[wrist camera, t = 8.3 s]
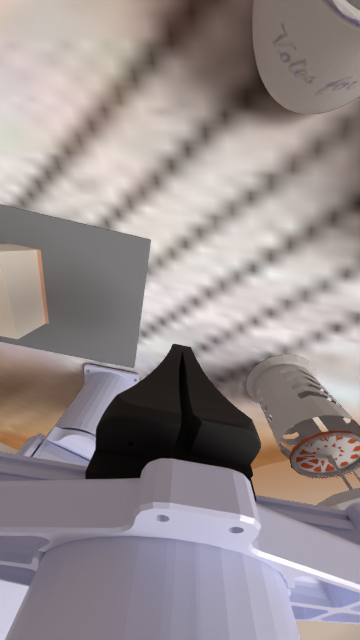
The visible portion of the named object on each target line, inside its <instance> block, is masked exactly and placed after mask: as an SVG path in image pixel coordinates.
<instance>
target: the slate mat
mask: <svg viewBox="0 0 360 640" xmlns="http://www.w3.org/2000/svg"><path fill="white" fill-rule="evenodd" d="M150 243H151V240H150V239H145V238H141V237H137V236H133V235H128V234H124V233H120V232H116V231H111V230H107V229H103V228H99V227H94V226H90V225H86V224H81V223H77V222H73V221H69V220H64V219H60V218H56V217H52V216H47V215H43V214H39V213H35V212H30V211H26V210H22V209H18V208H13V207H9V206H5V205H0V244H12V245H17V246H21V247H26V248H30V249H34V250H37V257H38V266H39V274H40V282H41V290H42V299H43V307H44V315H45V323H46V324H44V325H42V326H40V327H39V328H37V329H35V330H33V331H31V332H30V333H28V334H26V335H24V336H23V337H21V338H19V339H13V338H8V337H3V336H0V342H5V343H10V344H15V345H20V346H25V347H30V348H35V349H40V350H45V351H50V352H55V353H60V354H65V355H70V356H75V357H80V358H85V359H90V360H95V361H100V362H105V363H110V364H115V365H120V366H125V367H130V368H134V365H135V358H136V350H137V342H138V335H139V327H140V319H141V312H142V304H143V297H144V289H145V281H146V274H147V266H148V258H149V251H150Z"/></svg>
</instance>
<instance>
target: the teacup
mask: <svg viewBox="0 0 360 640" xmlns="http://www.w3.org/2000/svg"><path fill="white" fill-rule="evenodd" d="M252 34H253V47H254V53H255V59H256V64H257V68H258V71H259V74H260V77H261V79H262V81H263V83H264V85H265V87H266V89H267V91H268V92H269V93H270V95H271V96H272V97H273V98H274V99H275V100H276V101H277V102H278V103H279V104H280V105H282V106H283V107H284V108H286V109H288V110H290V111H293V112H296V113H300V114H319V113H324V112H328V111H331V110H334V109H337V108H339V107H341V106H343V105H345V104H347V103H349V102H351V101H353V100H354V99H356V98H358V97H359V96H360V0H253V13H252Z"/></svg>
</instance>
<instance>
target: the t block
mask: <svg viewBox="0 0 360 640" xmlns="http://www.w3.org/2000/svg"><path fill="white" fill-rule="evenodd" d="M44 324H46V323H45V315H44V307H43V299H42V290H41V282H40V274H39V266H38V257H37V250H34V249H30V248H26V247H21V246H17V245H12V244H0V336H3V337H8V338H13V339H19V338H21V337H23V336H24V335H26V334H28V333H30V332H31V331H33V330H35V329H37V328H39V327H40V326H42V325H44Z"/></svg>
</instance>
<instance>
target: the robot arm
mask: <svg viewBox="0 0 360 640" xmlns="http://www.w3.org/2000/svg"><path fill="white" fill-rule="evenodd" d="M139 377H140V376H139V374H137V373H132V372H127V371H122V370H117V369H111V368H106V367H101V366H96V365H91V364H86V365H85V366H84V386H83V388H82V389H81V391H80V392H79V393H78V395H77V396H76V397H75V399H74V400H73V402H72V403H71V404H70V406H69V407H68V408H67V410H66V411H65V412H64V414H63V415H62V417H61V418H60V419H59V421H58V422H57V423H56V425H55V426H54V427H53V429H52V430H51V431H50V432H49V433H48V435H47V436H46V437H45V438H44V435H42V434H38V435H37V436H33V437H31V438H29V439H28V440H27V441H26V442H25V444H24V445H23V446H22V447H21V448H20V450H19V451H18V452H17V453H16V454H12V453H6V452H0V640H301V639H300V636H299V631H298V628H297V625H296V621H295V620H298V621H316V622H334V623H349V624H360V502H356V503H352V504H350V505H349V506H348V507H347V508H346V509H345V510H341V509H335V508H329V507H323V506H318V505H312V504H306V503H300V502H294V501H288V500H282V499H276V498H270V497H265V496H258V495H255V492H254V488H253V484H252V481H251V477H252V476H253V472H252V469H251V465H250V464H251V463H252V461H253V460H254V459H255V457H256V456H257V454H258V453H259V450H260V448H261V442H260V439H259V436H258V433H257V431H256V428H255V426H254V424H253V421H252V419H250V418H249V417H248V416H247V415H245V414H244V413H243V412H241V411H240V410H239V409H237V408H236V407H235V406H234V405H233V404H232V403H231V402H229V401H228V400H227V399H226V398H225V397H224V396H223V395H222V394H221V393H220V392H219V391H218V390H217V389H216V387H215V386H214V385H213V384H212V383H211V381H210V380H209V379H208V378H207V376H206V375H205V373H204V372H203V370H202V368H201V367H200V365H199V363H198V361H197V359H196V357H195V355H194V353H193V351H192V349H191V347H187V346H182V345H177V344H173V345H172V347H171V350H170V351H169V353H168V354H167V356H166V357H165V359H164V360H163V361H162V362H161V363H160V365H159V366H158V367H157V368H156V369H155V370H154V371H153V372H151V373H150V374H149V375H148V376H147V377H145V378H144V379H143V380H141V381H140V382H139ZM135 379H136V380H135ZM43 438H44V439H43Z"/></svg>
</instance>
